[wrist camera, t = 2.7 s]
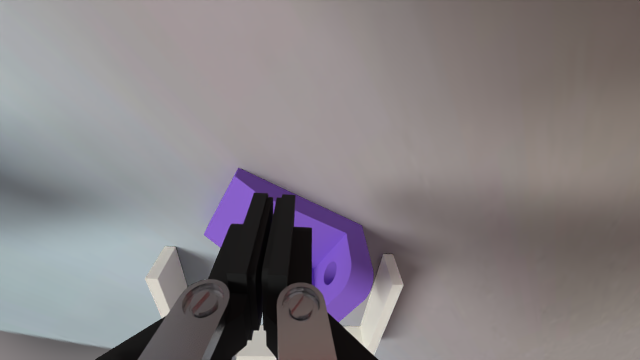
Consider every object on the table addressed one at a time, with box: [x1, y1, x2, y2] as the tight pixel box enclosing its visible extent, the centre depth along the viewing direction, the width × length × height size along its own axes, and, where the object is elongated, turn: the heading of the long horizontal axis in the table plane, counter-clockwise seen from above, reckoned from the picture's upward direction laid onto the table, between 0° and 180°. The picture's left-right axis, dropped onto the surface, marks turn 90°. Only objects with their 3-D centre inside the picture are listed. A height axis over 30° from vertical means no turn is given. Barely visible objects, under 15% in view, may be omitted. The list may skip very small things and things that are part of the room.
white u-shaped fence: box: [145, 246, 403, 360], centre depth 28 cm, size 14×22×4 cm, turn 85°
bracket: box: [204, 168, 374, 322], centre depth 21 cm, size 12×7×7 cm, turn 58°
